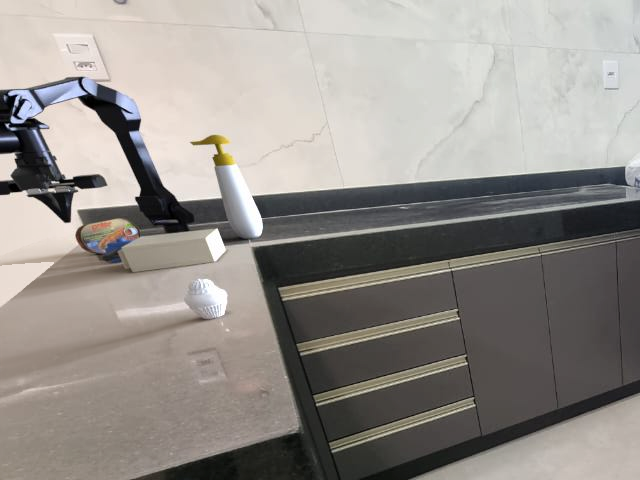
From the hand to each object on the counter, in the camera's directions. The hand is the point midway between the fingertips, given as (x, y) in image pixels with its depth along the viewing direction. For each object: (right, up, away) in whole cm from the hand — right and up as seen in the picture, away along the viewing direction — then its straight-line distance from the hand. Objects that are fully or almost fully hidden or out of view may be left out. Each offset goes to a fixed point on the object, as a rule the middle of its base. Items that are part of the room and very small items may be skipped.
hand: (67, 222), depth 125 cm
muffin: (+58, -25, -29) cm, 70 cm away
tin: (-17, -1, +28) cm, 33 cm away
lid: (-1, -5, +17) cm, 17 cm away
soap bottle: (+15, +5, +37) cm, 40 cm away
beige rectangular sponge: (+17, -7, +12) cm, 22 cm away
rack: (+13, -7, +10) cm, 18 cm away
